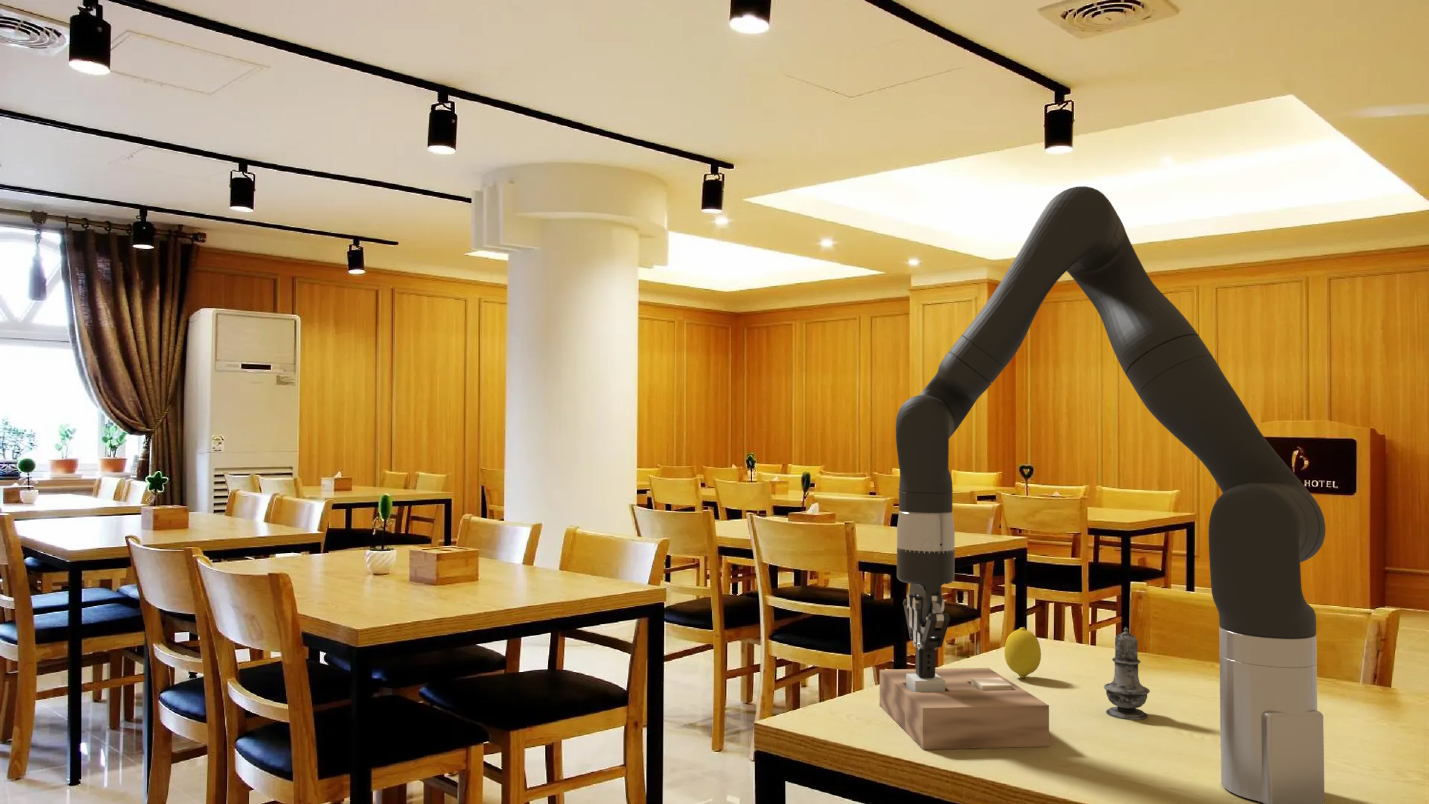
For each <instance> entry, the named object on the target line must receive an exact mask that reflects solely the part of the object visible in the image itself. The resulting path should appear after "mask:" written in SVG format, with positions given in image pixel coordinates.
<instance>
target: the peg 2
mask: <svg viewBox="0 0 1429 804" xmlns="http://www.w3.org/2000/svg"><path fill="white" fill-rule="evenodd" d="M971 685H972V686H974V687H975V688H976V689H978V690H979V691H999V690H1012V685H1011V684H1009V683H1008V682H1006V681H1004V680H1003V679H1001V678H971Z"/></svg>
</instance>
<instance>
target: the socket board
mask: <svg viewBox="0 0 1429 804" xmlns="http://www.w3.org/2000/svg"><path fill="white" fill-rule="evenodd" d="M935 673H936V674H937V675H938V676H940V677H941V678H942V679H944V680H945V692H912V691H911V690H910V689H908V688H907V687H906V674H916V668H911V669H910V668H908V669H906V668H905V669H904V668H903V669H902V668H900V669H894V668H893V669H879V706H880V707H881V708H882V710H883V711H885V713H886V714H887V715H889V716H890V717H891V718H892V720H894V721H895V723H896V724H897V725H899V727H900V728H901V729H902V730H903V731H904V732H905V733H906V734H907V735H908V736H909V737H910V738H911V739H912V740H913V741H914V742H915V743H916V745H918V746H919V747H920V748H921V749H922V750H923V749H924V750H956V749H959V750H960V749H992V748H993V749H997V748H998V749H999V748H1001V749H1002V748H1033V747H1035V748H1039V747H1044V748H1045V747H1050V705H1049V704H1047V703H1046V702H1045V701H1043V700H1041V699H1040V698H1039V697H1036V696H1034V695H1033V694H1031V693H1029V692H1028V691H1027V690H1025V689H1023V688H1022V687H1021V686H1019V685H1017V684H1015V683H1013V681H1010V680H1008V678H1006V677H1004V676H1003V675H1001V674H999V672H996V671H994V670H993V669H991V668H990V667H967V668H964V667H959V668H955V667H953V668H952V667H951V668H935ZM971 678H1001V679H1003V680H1004V681H1006V682H1008V683H1009V684H1011V685H1012V690H999V691H979V690H978V689H976V688H975V687H974V686H972V685H971Z"/></svg>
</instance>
